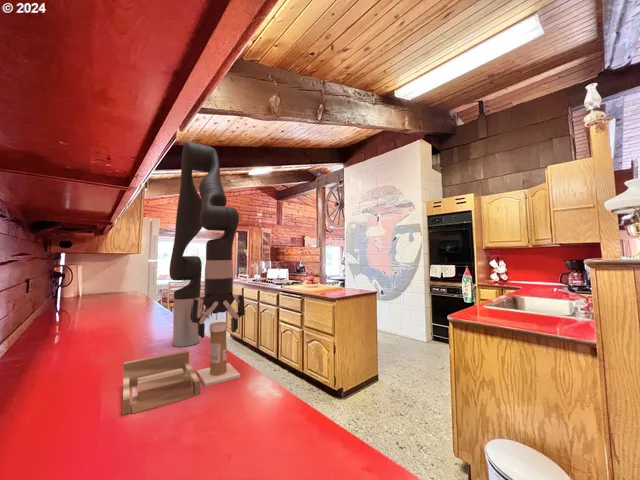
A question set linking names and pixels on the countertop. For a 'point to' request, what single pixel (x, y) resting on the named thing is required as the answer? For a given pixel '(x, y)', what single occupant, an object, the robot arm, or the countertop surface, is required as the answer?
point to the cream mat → (217, 376)
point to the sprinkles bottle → (218, 348)
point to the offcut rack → (159, 381)
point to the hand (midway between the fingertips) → (218, 334)
